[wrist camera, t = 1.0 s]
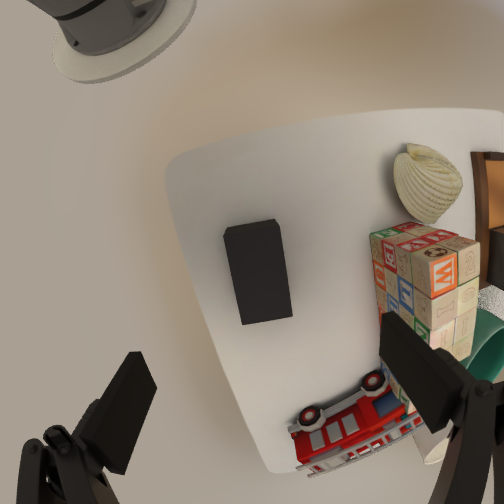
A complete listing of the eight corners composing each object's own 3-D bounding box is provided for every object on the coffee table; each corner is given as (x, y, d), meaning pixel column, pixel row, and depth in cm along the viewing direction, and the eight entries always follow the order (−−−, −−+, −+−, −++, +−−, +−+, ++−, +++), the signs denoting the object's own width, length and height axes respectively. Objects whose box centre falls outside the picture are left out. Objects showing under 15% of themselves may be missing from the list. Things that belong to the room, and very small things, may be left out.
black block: (226, 227, 28) (223, 235, 24) (274, 219, 28) (279, 225, 24) (243, 305, 31) (242, 325, 26) (286, 298, 30) (292, 316, 26)
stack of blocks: (415, 359, 33) (456, 409, 21) (380, 374, 34) (415, 432, 22) (411, 220, 28) (482, 241, 16) (367, 232, 29) (431, 262, 17)
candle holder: (448, 393, 36) (477, 430, 25) (410, 426, 38) (434, 467, 26) (433, 375, 35) (467, 418, 23) (390, 413, 36) (416, 461, 25)
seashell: (422, 122, 23) (476, 167, 21) (399, 168, 31) (444, 207, 28) (393, 149, 21) (458, 205, 19) (369, 200, 29) (419, 246, 26)
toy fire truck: (406, 387, 35) (432, 427, 25) (307, 442, 37) (317, 487, 27) (393, 356, 33) (425, 399, 23) (282, 418, 35) (288, 469, 26)
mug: (436, 306, 31) (476, 337, 22) (487, 294, 31) (523, 317, 22) (411, 392, 35) (435, 429, 26) (461, 374, 35) (487, 402, 26)
